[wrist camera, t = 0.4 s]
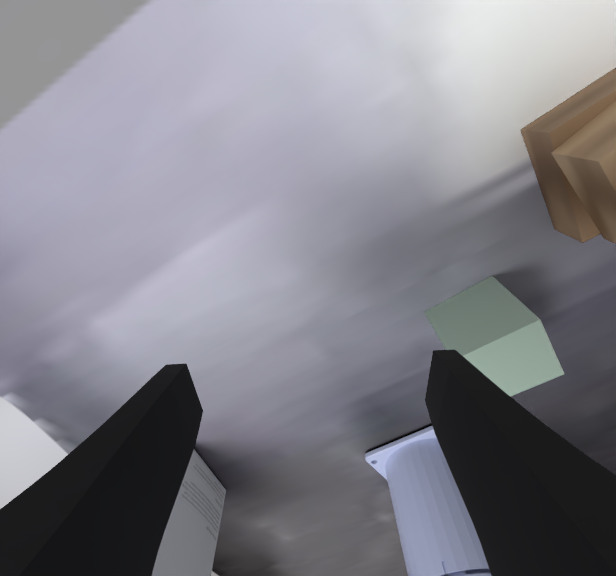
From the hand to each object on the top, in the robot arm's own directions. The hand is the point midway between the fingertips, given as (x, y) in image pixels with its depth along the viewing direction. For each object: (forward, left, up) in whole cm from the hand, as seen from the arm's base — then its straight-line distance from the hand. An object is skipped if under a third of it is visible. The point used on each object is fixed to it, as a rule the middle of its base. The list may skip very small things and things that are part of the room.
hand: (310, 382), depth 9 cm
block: (-10, -6, -10) cm, 15 cm away
